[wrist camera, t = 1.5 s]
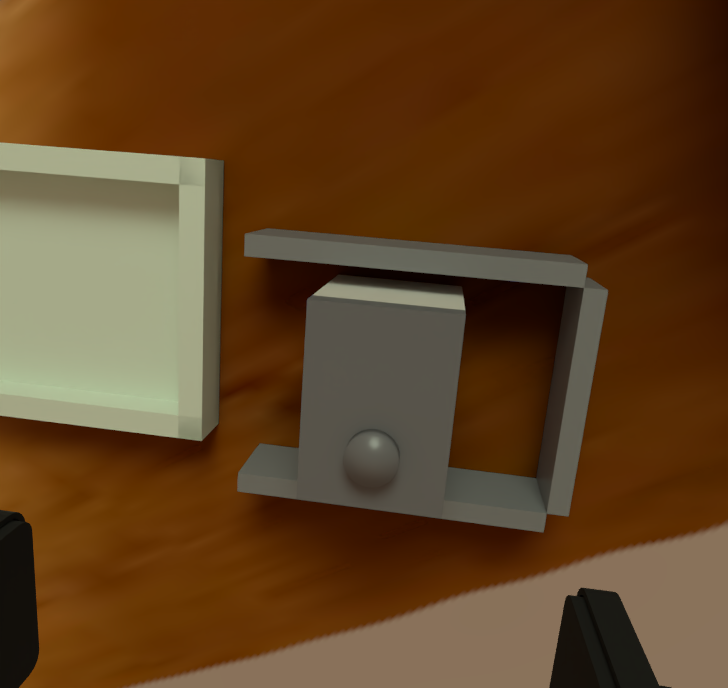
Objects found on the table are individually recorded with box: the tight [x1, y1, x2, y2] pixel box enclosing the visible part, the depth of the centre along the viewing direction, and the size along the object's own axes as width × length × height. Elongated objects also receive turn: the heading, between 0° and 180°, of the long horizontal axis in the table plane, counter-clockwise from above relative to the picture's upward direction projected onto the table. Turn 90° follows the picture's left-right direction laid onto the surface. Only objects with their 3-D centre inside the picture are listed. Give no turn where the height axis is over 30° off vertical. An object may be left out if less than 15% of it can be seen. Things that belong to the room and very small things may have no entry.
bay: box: [238, 228, 608, 533], centre depth 25 cm, size 13×10×3 cm
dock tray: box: [0, 143, 224, 441], centre depth 26 cm, size 13×11×2 cm
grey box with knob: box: [296, 274, 466, 519], centre depth 23 cm, size 5×7×7 cm
